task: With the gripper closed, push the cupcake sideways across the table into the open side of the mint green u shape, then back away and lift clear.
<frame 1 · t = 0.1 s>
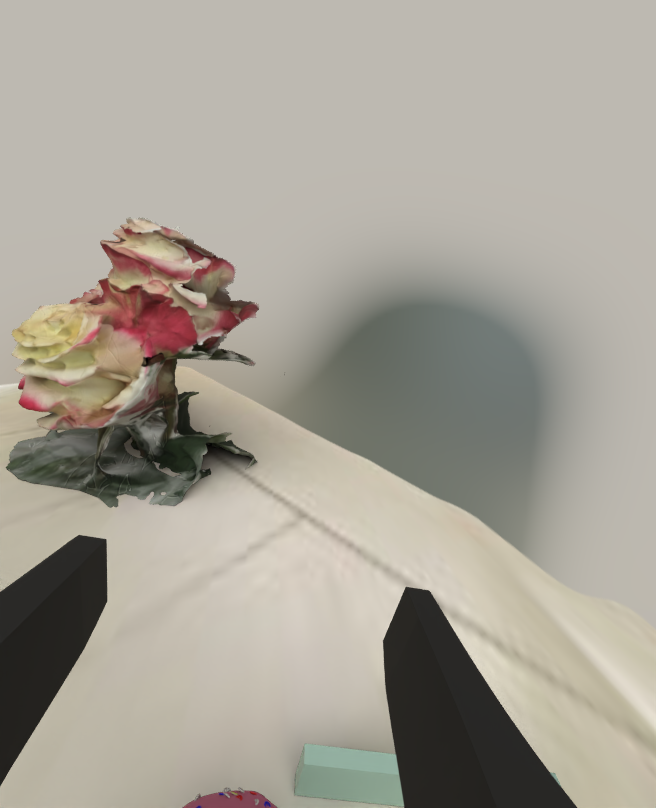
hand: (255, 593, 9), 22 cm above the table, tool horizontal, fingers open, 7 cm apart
rose bouquet: (132, 458, 52), on the table
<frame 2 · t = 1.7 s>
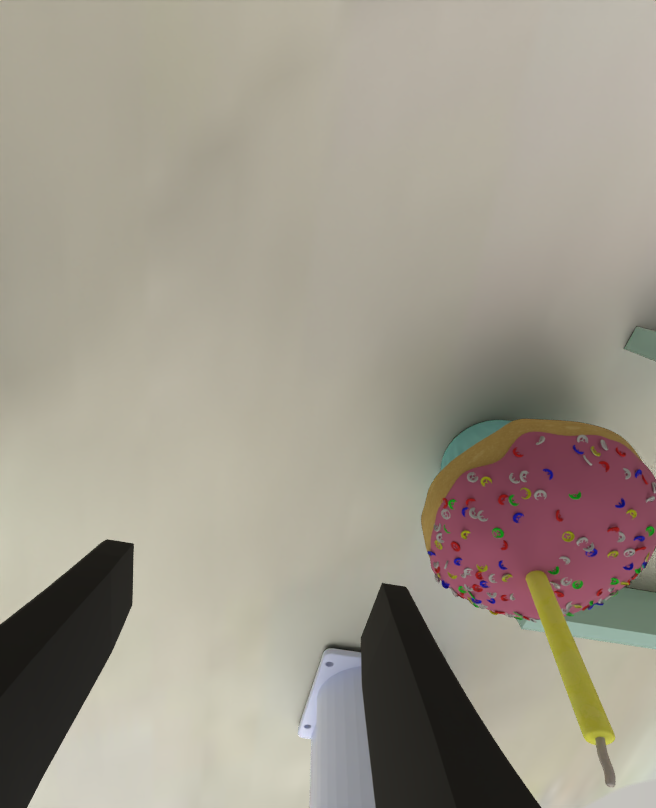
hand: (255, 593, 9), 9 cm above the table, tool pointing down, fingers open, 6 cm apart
cupcake: (488, 457, 19), on the table
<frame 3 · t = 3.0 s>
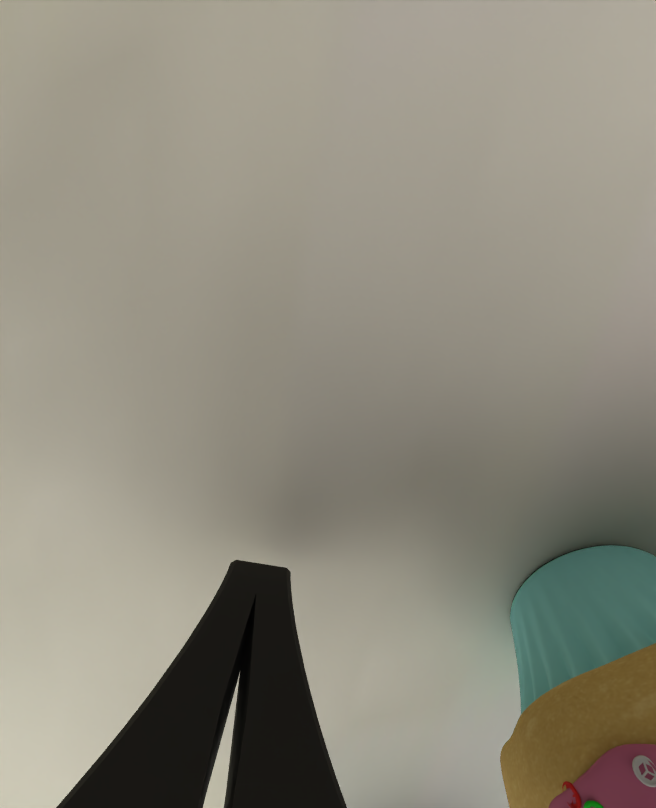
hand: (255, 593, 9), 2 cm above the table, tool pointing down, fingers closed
cupcake: (585, 592, 12), on the table
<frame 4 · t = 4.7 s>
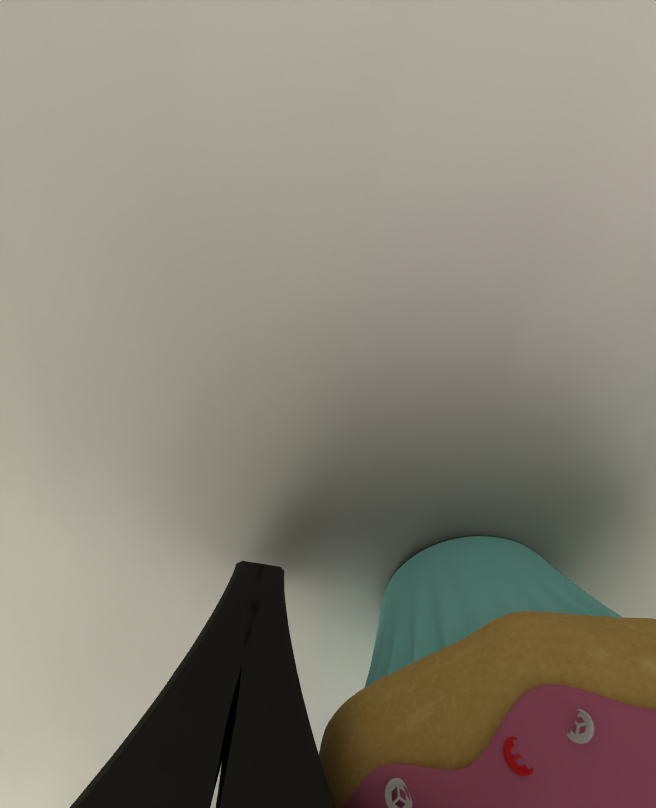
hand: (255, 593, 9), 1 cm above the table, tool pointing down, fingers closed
cupcake: (465, 588, 11), on the table, touching gripper
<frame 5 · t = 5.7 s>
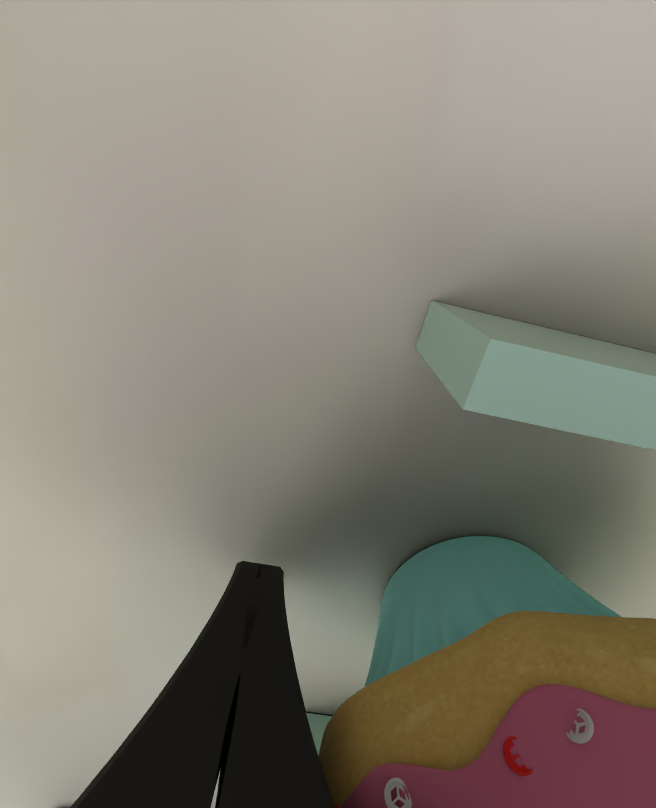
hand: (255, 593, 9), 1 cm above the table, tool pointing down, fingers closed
mint green u shape: (591, 615, 11), on the table
cupcake: (465, 588, 11), on the table, touching gripper
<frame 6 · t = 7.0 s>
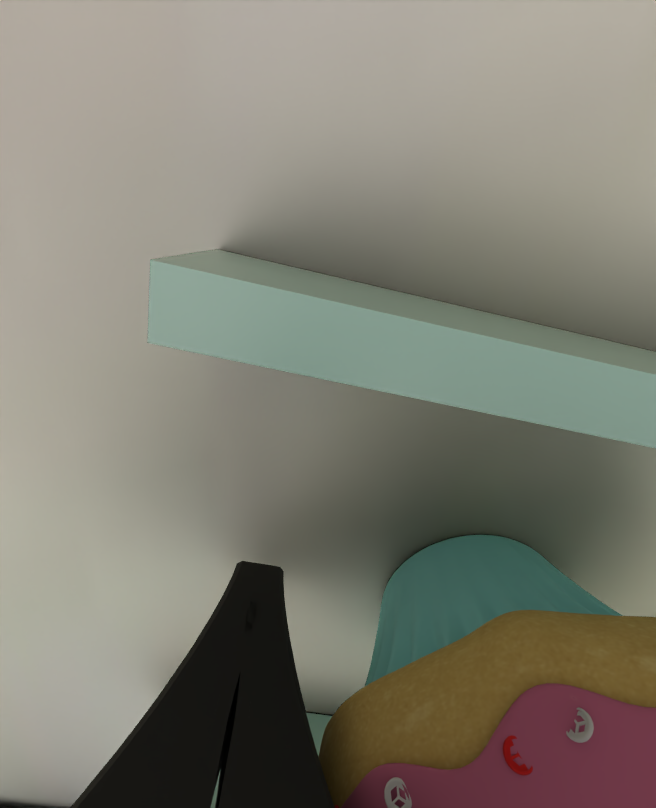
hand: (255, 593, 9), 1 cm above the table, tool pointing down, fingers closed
mint green u shape: (457, 592, 11), on the table
cupcake: (465, 587, 11), on the table, touching gripper
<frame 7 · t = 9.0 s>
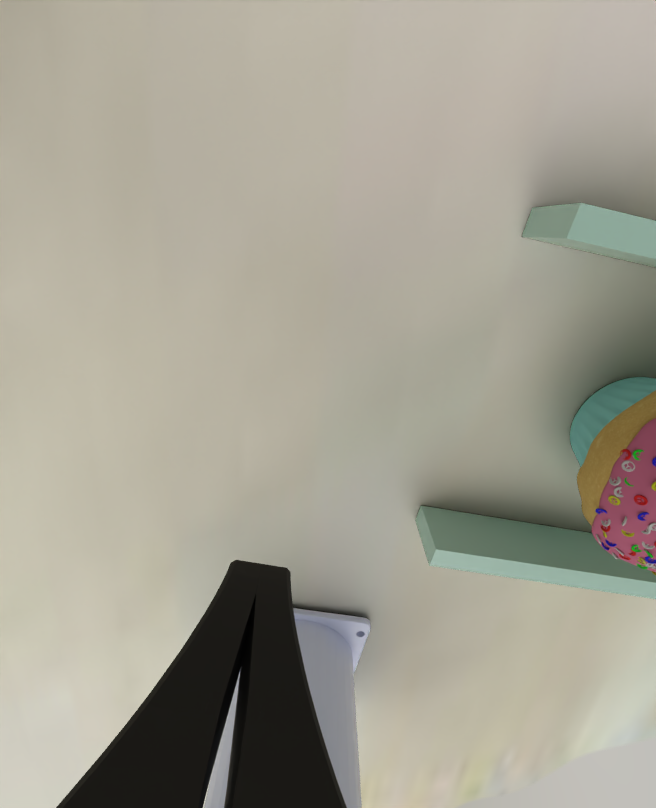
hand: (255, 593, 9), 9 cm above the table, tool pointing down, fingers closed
mint green u shape: (616, 420, 18), on the table
cupcake: (619, 419, 18), on the table
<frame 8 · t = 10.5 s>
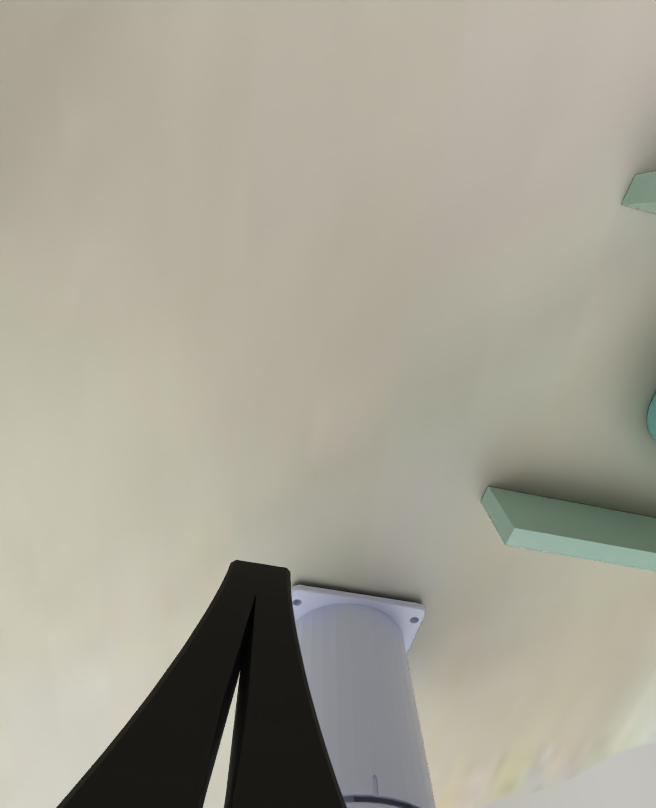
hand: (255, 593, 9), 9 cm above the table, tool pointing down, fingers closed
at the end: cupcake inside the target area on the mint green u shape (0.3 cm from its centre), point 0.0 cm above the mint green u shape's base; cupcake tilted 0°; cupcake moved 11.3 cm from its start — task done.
